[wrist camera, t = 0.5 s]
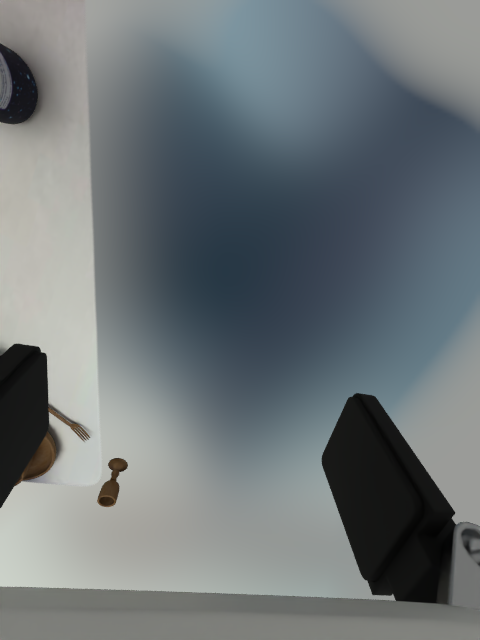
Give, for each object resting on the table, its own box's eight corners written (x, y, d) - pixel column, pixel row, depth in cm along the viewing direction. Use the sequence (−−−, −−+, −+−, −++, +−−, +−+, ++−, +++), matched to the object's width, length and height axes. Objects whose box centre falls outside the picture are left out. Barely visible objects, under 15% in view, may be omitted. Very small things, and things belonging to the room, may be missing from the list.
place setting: (19, 382, 41) (-10, 415, 36) (134, 462, 49) (124, 499, 44) (-62, 447, 45) (-98, 486, 40) (57, 512, 53) (40, 552, 47)
